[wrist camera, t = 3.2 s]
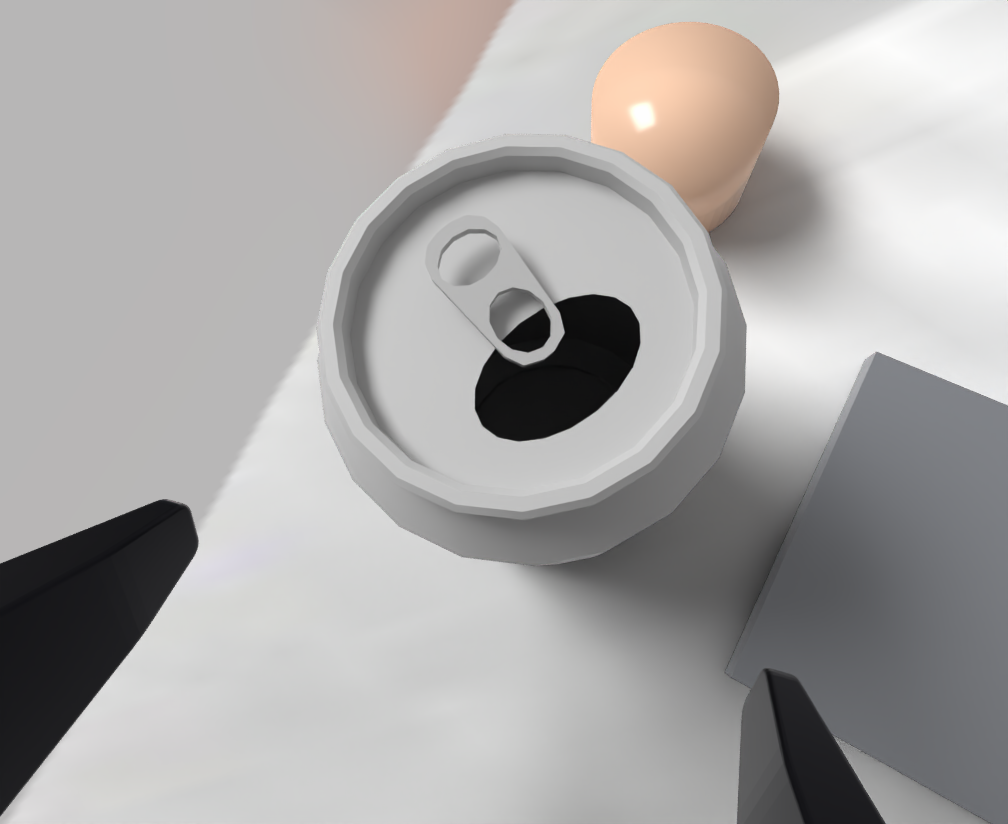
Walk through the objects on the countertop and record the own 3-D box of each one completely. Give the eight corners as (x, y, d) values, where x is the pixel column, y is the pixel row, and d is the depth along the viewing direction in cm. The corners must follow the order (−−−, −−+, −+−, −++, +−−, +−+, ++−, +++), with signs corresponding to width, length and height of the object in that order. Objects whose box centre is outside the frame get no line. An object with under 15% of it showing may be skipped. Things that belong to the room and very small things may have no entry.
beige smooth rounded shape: (696, 270, 21) (720, 205, 17) (562, 202, 23) (557, 129, 19) (773, 149, 22) (813, 62, 18) (639, 90, 23) (650, -3, 20)
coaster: (1129, 899, 16) (1158, 917, 15) (724, 672, 18) (731, 677, 17) (1250, 520, 17) (1282, 518, 16) (865, 359, 20) (876, 351, 19)
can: (536, 612, 19) (463, 691, 8) (402, 436, 21) (185, 284, 10) (714, 465, 20) (904, 324, 8) (566, 305, 22) (547, 8, 10)
